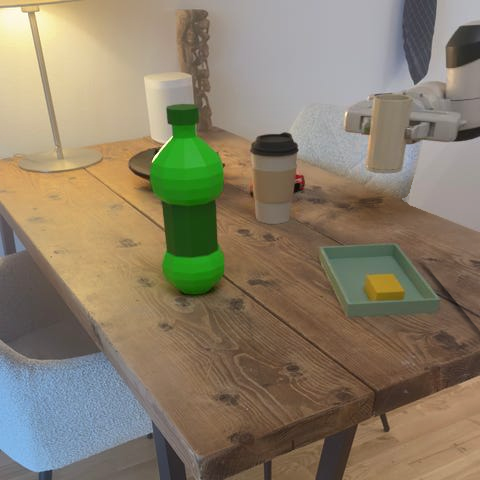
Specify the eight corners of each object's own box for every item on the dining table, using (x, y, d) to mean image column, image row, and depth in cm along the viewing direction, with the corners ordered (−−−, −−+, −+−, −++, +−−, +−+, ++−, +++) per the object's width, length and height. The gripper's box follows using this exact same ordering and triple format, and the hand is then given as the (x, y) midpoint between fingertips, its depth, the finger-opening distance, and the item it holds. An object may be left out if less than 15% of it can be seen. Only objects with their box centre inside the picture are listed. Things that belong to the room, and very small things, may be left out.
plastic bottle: (217, 305, 84) (208, 116, 68) (151, 297, 86) (128, 112, 70) (236, 277, 91) (232, 101, 75) (175, 271, 94) (159, 99, 78)
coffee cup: (269, 229, 108) (270, 143, 98) (241, 216, 113) (240, 134, 104) (304, 219, 112) (309, 135, 102) (276, 207, 118) (278, 127, 108)
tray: (318, 261, 95) (319, 246, 94) (393, 257, 96) (396, 242, 94) (346, 321, 79) (348, 304, 78) (436, 316, 80) (440, 299, 78)
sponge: (364, 290, 85) (366, 274, 84) (390, 289, 85) (392, 273, 84) (374, 308, 81) (377, 292, 79) (402, 307, 81) (405, 291, 79)
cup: (396, 163, 102) (406, 93, 95) (406, 172, 97) (418, 100, 90) (361, 164, 102) (369, 94, 95) (370, 174, 97) (379, 101, 90)
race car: (257, 200, 122) (257, 181, 119) (245, 193, 125) (244, 174, 123) (308, 190, 126) (309, 171, 124) (295, 184, 130) (295, 165, 128)
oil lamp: (218, 164, 145) (216, 131, 140) (235, 201, 122) (234, 162, 117) (130, 170, 142) (126, 136, 137) (130, 207, 119) (125, 169, 114)
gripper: (465, 141, 102) (445, 158, 93) (358, 130, 110) (330, 145, 101) (473, 101, 98) (453, 116, 89) (362, 93, 106) (333, 105, 97)
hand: (386, 131), depth 95 cm, fingers closed on cup, 6 cm apart
